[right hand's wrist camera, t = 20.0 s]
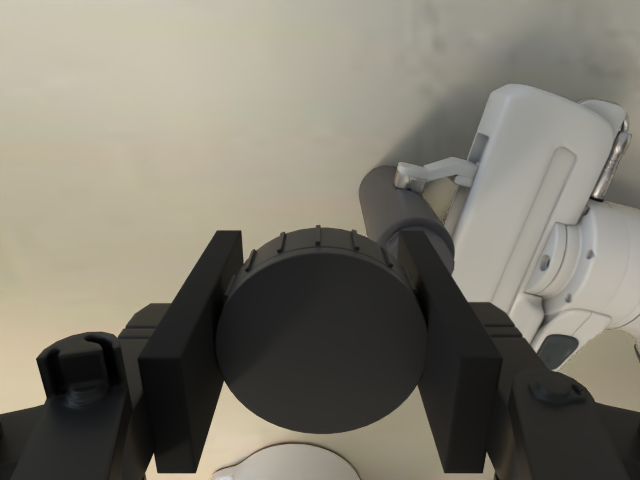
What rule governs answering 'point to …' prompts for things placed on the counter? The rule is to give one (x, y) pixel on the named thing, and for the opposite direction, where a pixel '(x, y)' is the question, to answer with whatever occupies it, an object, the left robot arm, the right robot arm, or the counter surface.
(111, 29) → the counter surface
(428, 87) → the counter surface
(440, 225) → the jar
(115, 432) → the right robot arm
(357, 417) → the lid
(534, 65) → the counter surface
